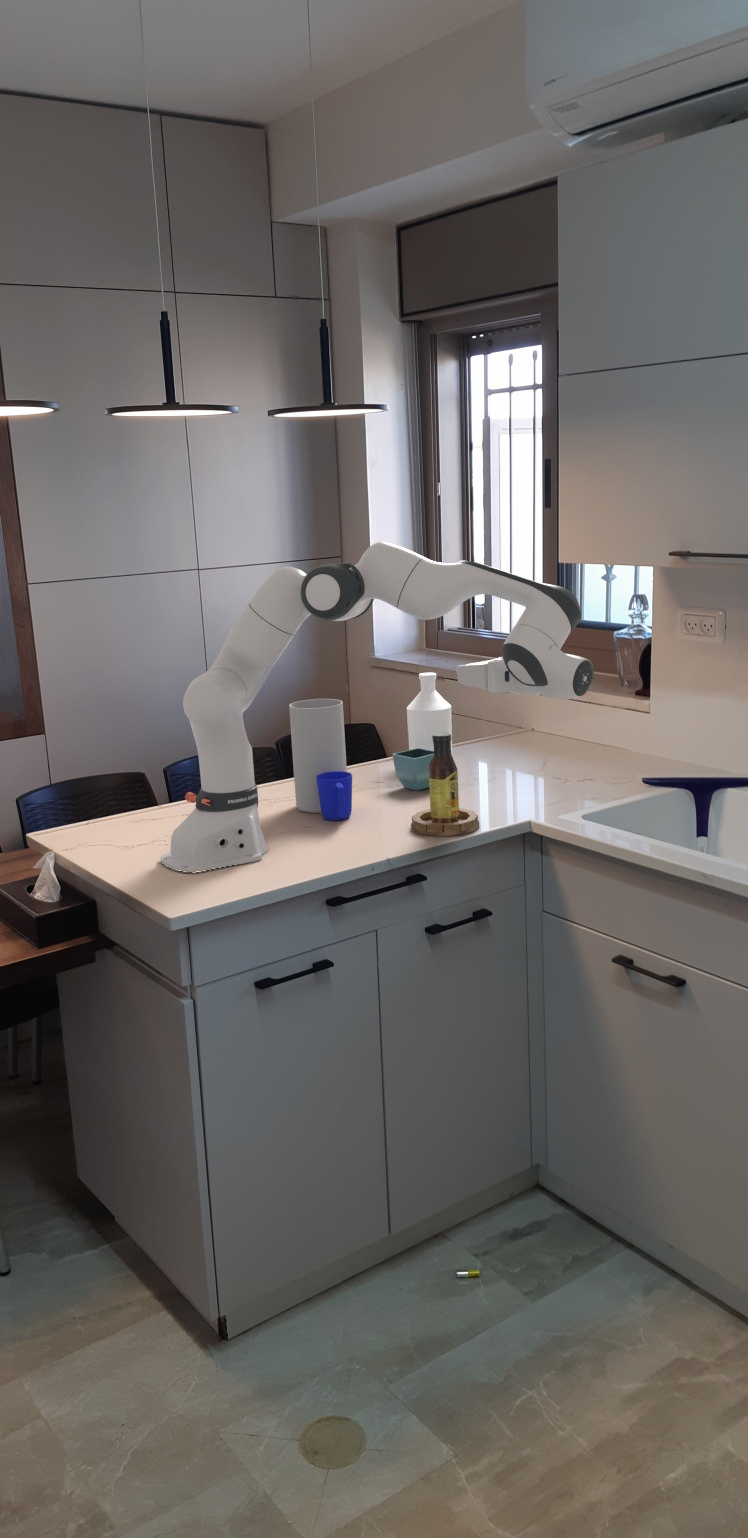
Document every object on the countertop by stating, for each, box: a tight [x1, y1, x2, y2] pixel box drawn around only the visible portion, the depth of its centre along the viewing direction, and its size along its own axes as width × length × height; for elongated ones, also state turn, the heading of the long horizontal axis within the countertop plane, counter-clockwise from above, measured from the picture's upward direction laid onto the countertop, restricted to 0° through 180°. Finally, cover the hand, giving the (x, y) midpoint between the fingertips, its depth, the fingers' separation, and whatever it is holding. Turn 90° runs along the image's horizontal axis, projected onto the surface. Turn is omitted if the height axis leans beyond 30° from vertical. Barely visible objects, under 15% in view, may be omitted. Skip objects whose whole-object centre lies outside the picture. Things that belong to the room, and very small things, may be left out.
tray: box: [410, 807, 480, 838], centre depth 254 cm, size 15×15×2 cm
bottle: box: [406, 672, 453, 755], centre depth 309 cm, size 12×12×25 cm
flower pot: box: [391, 748, 434, 791], centre depth 288 cm, size 9×9×9 cm
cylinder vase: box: [288, 698, 348, 814], centre depth 273 cm, size 12×12×25 cm
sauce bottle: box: [429, 733, 460, 824], centre depth 252 cm, size 7×6×20 cm
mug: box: [316, 771, 353, 821], centre depth 263 cm, size 8×12×10 cm
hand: (475, 666), depth 240 cm, fingers open, 8 cm apart
